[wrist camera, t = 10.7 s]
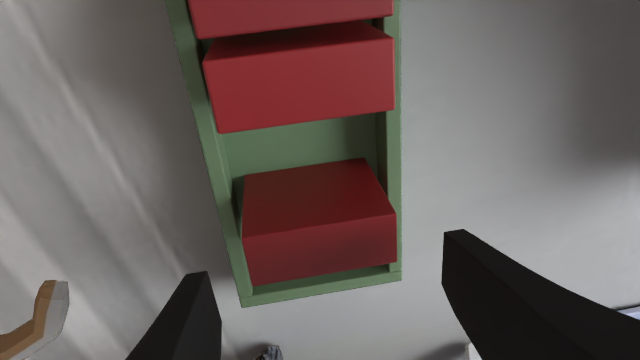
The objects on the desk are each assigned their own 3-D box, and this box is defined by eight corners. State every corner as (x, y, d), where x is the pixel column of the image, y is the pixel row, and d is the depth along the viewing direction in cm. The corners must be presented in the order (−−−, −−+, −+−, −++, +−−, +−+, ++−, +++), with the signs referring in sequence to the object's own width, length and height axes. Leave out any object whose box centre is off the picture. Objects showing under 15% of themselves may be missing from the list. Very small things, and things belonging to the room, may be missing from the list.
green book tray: (389, 252, 21) (402, 280, 19) (242, 277, 20) (241, 309, 18) (380, -125, 14) (400, -138, 12) (153, -103, 13) (136, -114, 11)
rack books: (360, 73, 16) (396, 110, 12) (227, 91, 15) (217, 135, 11) (353, -65, 14) (394, -76, 10) (198, -48, 13) (175, -53, 9)
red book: (366, 198, 18) (398, 262, 14) (252, 215, 18) (251, 287, 14) (364, 156, 17) (397, 213, 13) (243, 174, 17) (240, 238, 13)
